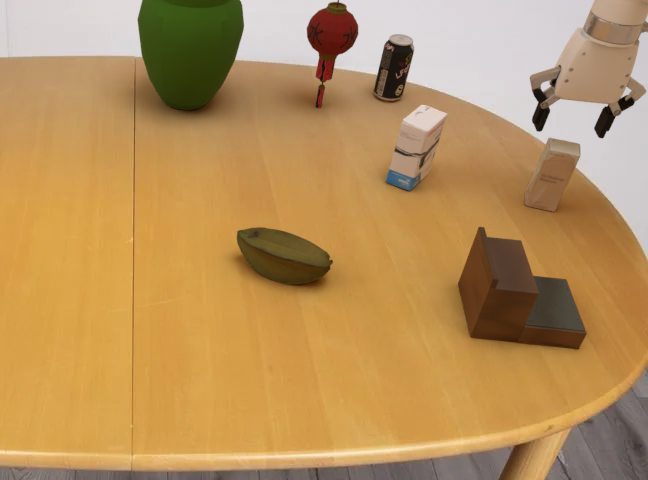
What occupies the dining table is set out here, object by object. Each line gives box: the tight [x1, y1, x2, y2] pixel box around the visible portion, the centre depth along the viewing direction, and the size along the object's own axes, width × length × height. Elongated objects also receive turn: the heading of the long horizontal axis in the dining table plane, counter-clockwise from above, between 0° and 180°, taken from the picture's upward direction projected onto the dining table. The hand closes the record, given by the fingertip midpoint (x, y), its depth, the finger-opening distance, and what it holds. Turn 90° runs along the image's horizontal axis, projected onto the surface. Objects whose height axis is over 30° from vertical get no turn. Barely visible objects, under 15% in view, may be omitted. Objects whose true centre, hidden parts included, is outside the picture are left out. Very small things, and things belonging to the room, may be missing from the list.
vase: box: [137, 0, 245, 111], centre depth 162 cm, size 20×20×24 cm
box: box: [524, 137, 581, 213], centre depth 145 cm, size 5×4×11 cm
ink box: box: [385, 104, 448, 192], centre depth 149 cm, size 8×5×12 cm, turn 143°
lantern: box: [306, 0, 359, 109], centre depth 161 cm, size 10×10×30 cm
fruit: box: [236, 226, 334, 286], centre depth 130 cm, size 11×12×7 cm
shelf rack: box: [457, 226, 588, 350], centre depth 123 cm, size 15×12×11 cm
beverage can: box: [373, 33, 415, 102], centre depth 171 cm, size 6×6×12 cm
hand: (567, 130), depth 140 cm, fingers open, 9 cm apart
